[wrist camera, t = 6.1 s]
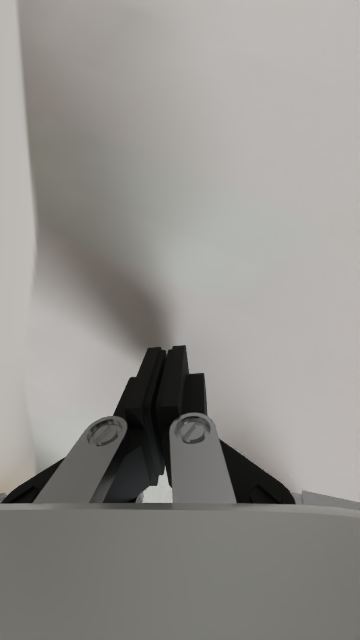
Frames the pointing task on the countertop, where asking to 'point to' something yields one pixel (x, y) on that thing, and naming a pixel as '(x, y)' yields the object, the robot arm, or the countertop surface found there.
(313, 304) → the countertop surface
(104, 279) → the countertop surface
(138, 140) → the countertop surface
